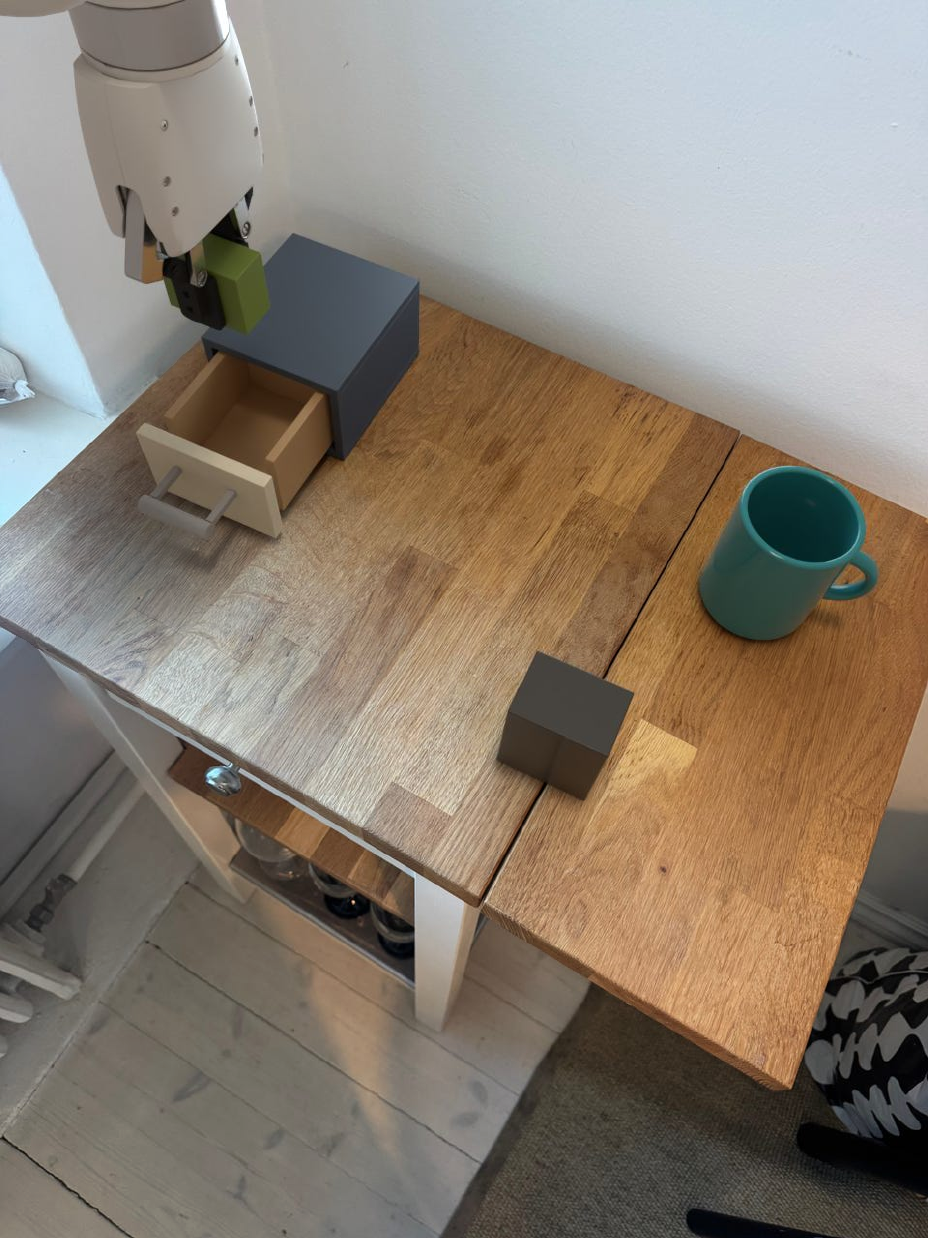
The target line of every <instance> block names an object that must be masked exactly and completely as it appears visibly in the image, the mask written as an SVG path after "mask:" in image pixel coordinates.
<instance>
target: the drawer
mask: <svg viewBox="0 0 928 1238" xmlns="http://www.w3.org/2000/svg"><path fill="white" fill-rule="evenodd" d="M163 420H164V423H165V425H166V428H167V431H166V430H164V429H161V428H159V427H156V426H154V425H152V424H150V423H148V422H144V423H142V425H141V426H139V428H138V429H137V430H136V432H135V434H136V437H137V440H138V442H139V445H140V446H141V447H140V448H141V449H142V452H143V455H144V457H145V459H146V461H147V464H148V466H149V469H150V471H151V474H152V476H153V479H154V481H155V484H156V487H155V488H154V490H153V491H152V492H151V493H150V494H143V495H142V496H140V498H139V499H138V502H137V506H136V507H137V510H138V512H140V513H142V514H144V515H146V516H149V517H151V518H153V519H155V520H158V521H160V522H162V523H164V524H166V525H169V526H171V527H173V528H176V529H178V530H180V531H182V532H185V533H187V534H189V535H192V536H193V537H196V538H198V539H201V540H203V541H206V542H208V541H210V540H211V539H212V537H213V536H214V534H215V530H216V526H215V525H216V524H217V523H218V521H219V520H220V519H221V517H222V516H224V517H225V518H228V519H230V520H233V521H235V522H237V523H239V524H241V525H244V526H246V527H248V528H251V529H253V530H256V531H258V532H260V533H262V534H264V535H267V536H269V537H271V538H274V539H277V538H278V536H279V534H281V532H282V530H283V529H284V525H283V521H282V517H281V511H285V510H286V508H287V506H289V504H291V503H290V502H291V501H292V500H293V498H294V497H295V496H296V494H297V493H298V491H299V490H300V489H301V487H302V486H303V485H304V483H305V482H306V480H307V479H308V477H310V474H311V473H312V472H313V471H314V469H315V468H316V467H317V465H318V464H319V463H320V461H321V460H322V458H323V457H324V455H325V454H326V453H325V452H326V451H327V449H328V448H329V447H330V445H331V444H332V442H333V441H334V432H333V423H332V415H331V406H330V397H329V394H326V393H324V392H321V391H319V390H316V389H314V388H311V387H309V386H306V385H304V384H301V383H299V382H296V381H294V380H291V379H289V378H286V377H284V376H281V375H279V374H276V373H274V372H271V371H269V370H266V369H264V368H261V367H259V366H256V365H254V364H251V363H249V362H246V361H244V360H241V359H239V358H236V357H234V356H232V355H229V354H227V353H224V352H222V351H218V353H217V354H216V355H215V356H214V357H213V358H212V359H211V361H210V362H209V363H208V362H207V364H206V365H205V366H204V368H202V370H201V371H200V372H199V373H198V375H197V376H196V377H195V378H194V379H193V380H192V381H191V382H190V383H189V385H188V386H187V387H186V388H185V390H184V391H182V393H181V394H180V395H179V396H178V398H177V399H175V401H174V402H173V404H172V405H171V406H170V407H169V408H168V409H167V410H166V412H164V414H163ZM167 492H169V493H171V494H173V495H175V496H177V497H180V498H181V499H185V500H187V501H189V502H192V503H193V504H196V505H198V506H200V507H203V508H205V509H207V510H209V511H210V513H209V514H208V516H207V517H206V518H205V519H203V518H201V517H199V516H196V515H193V514H192V513H189V512H187V511H185V510H183V509H180V508H178V507H176V506H173V505H171V504H169V503H167V502H164V501H162V500H161V499H162V498H163V497H164V495H165V494H166V493H167ZM280 510H281V511H280Z"/></svg>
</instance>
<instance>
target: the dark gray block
mask: <svg viewBox="0 0 928 1238" xmlns="http://www.w3.org/2000/svg"><path fill="white" fill-rule="evenodd" d="M634 696H635V691H632V690H630V689H627V688H625V687H623V686H621V685H618V684H615V683H614V682H611V681H609V680H607V679H605V678H603V677H599V676H597V675H595V674H592V673H591V672H588V671H586V670H583V669H581V668H579V667H577V666H575V665H572V664H570V663H568V662H565V661H564V660H561V659H559V658H557V657H554V656H551V655H549V654H547V653H545V652H543V651H540V650H536V651H535V653H534V656H533V658H532V660H531V662H530V664H529V666H528V668H527V670H526V671H525V674H524V676H523V678H522V680H521V683H520V684H519V687H518V688H517V691H516V693H515V695H514V697H513V698H512V701H511V703H510V705H509V707H508V709H507V712H506V716H505V720H504V724H503V729H502V733H501V738H500V742H499V746H498V751H497V755H496V761H497V762H500V763H502V764H504V765H507V766H509V767H511V768H513V769H515V770H517V771H520V772H521V773H524V774H526V775H528V776H530V777H532V778H535V779H537V780H539V781H541V782H543V783H545V784H547V785H550V786H552V787H553V788H556V789H558V790H560V791H562V792H565V793H567V794H569V795H571V796H574V797H576V798H578V799H580V800H582V801H586V799H587V797H588V795H589V794H590V792H591V790H592V788H593V786H594V784H595V783H596V781H597V779H598V776H599V775H600V773H601V772H602V770H603V768H604V766H605V764H606V762H607V760H608V759H609V756H610V754H611V752H612V749H613V747H614V745H615V743H616V740H617V737H618V735H619V732H620V730H621V728H622V725H623V723H624V720H625V718H626V716H627V713H628V711H629V709H630V706H631V703H632V701H633V699H634Z"/></svg>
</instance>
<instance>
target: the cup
mask: <svg viewBox="0 0 928 1238" xmlns="http://www.w3.org/2000/svg"><path fill="white" fill-rule="evenodd" d="M866 535H867V523H866V517H865V514H864V511H863V509H862V507H861V505H860V503H859V502H858V500H857V499H856V497H855V496H854V495H853V494H852V493H851V492H850V490H849V489H848V488H846V487H845V486H844V485H843V484H842V483H840V482H839V481H838V480H836V479H834V478H833V477H831V476H830V475H828V474H826V473H824V472H821V471H819V470H816V469H813V468H809V467H806V466H805V467H804V466H798V465H782V466H775V467H771V468H768V469H766V470H763V471H761V472H760V473H758V474H756V475H755V476H754V477H753V478H751V479H750V481H748V483H747V484H746V485H745V487H744V489H743V490H742V492H741V494H740V495H739V498H738V499H737V502H736V503H735V505H734V507H733V509H732V510H731V512H730V514H729V517H728V519H727V520H726V521H725V524H724V526H723V527H722V529H721V532H720V533H719V535H718V537H717V539H716V541H715V542H714V544H713V547H711V550H710V552H709V554H708V556H707V558H706V560H705V561H704V563H703V566H702V568H701V570H700V573H699V579H698V580H699V581H698V585H699V586H698V587H699V588H698V589H699V594H700V598H701V601H702V604H703V605H704V608H705V609H706V611H707V612H708V613H709V615H710V616H711V617H712V618H713V620H715V622H716V623H718V624H719V625H720V626H721V627H722V628H724V629H726V631H729V632H730V633H733V634H734V635H737V636H738V637H742V638H744V639H745V638H746V639H750V640H754V641H772V640H776V639H778V640H779V639H781V638H783V637H787V636H788V635H790V634H792V633H793V632H795V631H796V630H797V629H798V628H799V627H800V626H801V625H802V624H803V623H804V622H805V621H806V619H807V618H808V617H809V616H810V614H811V613H812V612H813V611H814V610H815V608H816V607H817V605H818V604H819V603H820V602H821V600H826V601H834V602H845V601H852V600H857V599H860V598H862V597H865V596H867V595H868V594H870V593H871V592H872V591H873V590H874V589H875V588H876V586H877V585H878V582H879V577H880V573H879V572H880V571H879V567H878V565H877V563H876V561H875V560H874V559H873V557H872V556H870V554H868V553H867V552H864V550H861V549H862V548H863V546H864V543H865V541H866ZM849 565H851V566H852V567H853V566H854V567H855V568H857V569H858V570H860V571H861V572H862V573H863V575H864V577H862V578H861V579H859V580H858V581H856V582H852V583H847V584H846V583H845V584H836V582H837V580H838V579H839V578H840V576H841V575H842V574H843V573H844V572H845V570H846V569H847V568H848V566H849Z"/></svg>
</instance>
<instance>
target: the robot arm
mask: <svg viewBox="0 0 928 1238" xmlns="http://www.w3.org/2000/svg"><path fill="white" fill-rule="evenodd" d="M65 12H68V15H69V18H70V21H71V25H72V27H73V31H74V34H75V37H76V40H77V44H78V46H79V50H80V52H81V53H80V54H79V56H78V57H77V58H76V59H75V60H74V61H73V62H72V63H73V64H72V66H73V78H74V89H75V98H76V104H77V110H78V116H79V121H80V127H81V131H82V136H83V141H84V146H85V150H86V155H87V159H88V162H89V166H90V170H91V174H92V176H93V181H94V185H95V188H96V192H97V195H98V198H99V201H100V205H101V208H102V211H103V214H104V217H105V220H106V222H107V225H108V227H109V230H110V231H111V233H112V235H114V236H116V237H118V238H120V239H123V240H124V267H123V271H124V275H125V277H127V278H128V279H131V280H133V281H136V282H138V283H141V284H143V285H149V284H154V283H158V282H162V281H164V280H163V279H165V278H169V279H171V280H172V284H173V287H174V291H175V294H176V297H177V301H178V304H179V308H178V309H179V311H180V314H182V316H183V317H184V318H186V319H187V320H190V321H191V322H194V323H197V324H200V325H203V326H206V327H208V328H209V327H211V328H213V329H216V330H219V331H221V330H222V329H223V328H224V327H225V325H226V320H225V316H224V312H223V308H222V304H221V300H220V295H219V291H218V287H217V283H216V279H215V278H214V277H211V276H209V275H208V273H207V267H206V261H205V255H204V249H203V243H202V239H203V238H204V237H205V236H206V235H207V234H208V233H210V234H213V235H216V236H218V237H221V238H224V239H226V240H229V241H232V242H234V243H237V244H239V245H242V246H245V247H247V248H250V246H249V245H250V244H249V242H248V241H246V239H248V238H249V237H250V236H251V233H252V228H253V225H252V221H251V217H250V213H249V210H250V207H251V203H252V199H253V196H254V185H255V184H256V183H257V181H258V179H259V177H260V175H261V173H262V170H263V164H264V160H265V157H264V153H263V146H262V137H261V131H260V125H259V120H258V114H257V108H256V104H255V100H254V95H253V90H252V87H251V82H250V78H249V75H248V70H247V67H246V63H245V59H244V56H243V51H242V49H241V47H240V43H239V39H238V36H237V33H236V30H235V27H234V25H233V22H232V20H231V17H230V14H229V13H228V9H227V3H226V0H0V17H10V18H11V17H12V18H40V17H41V18H42V17H47V16H51V15H56V14H57V15H58V14H61V13H65ZM182 254H184V256H185V260H184V259H181V258H178V257H177V256H180V255H182Z"/></svg>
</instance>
